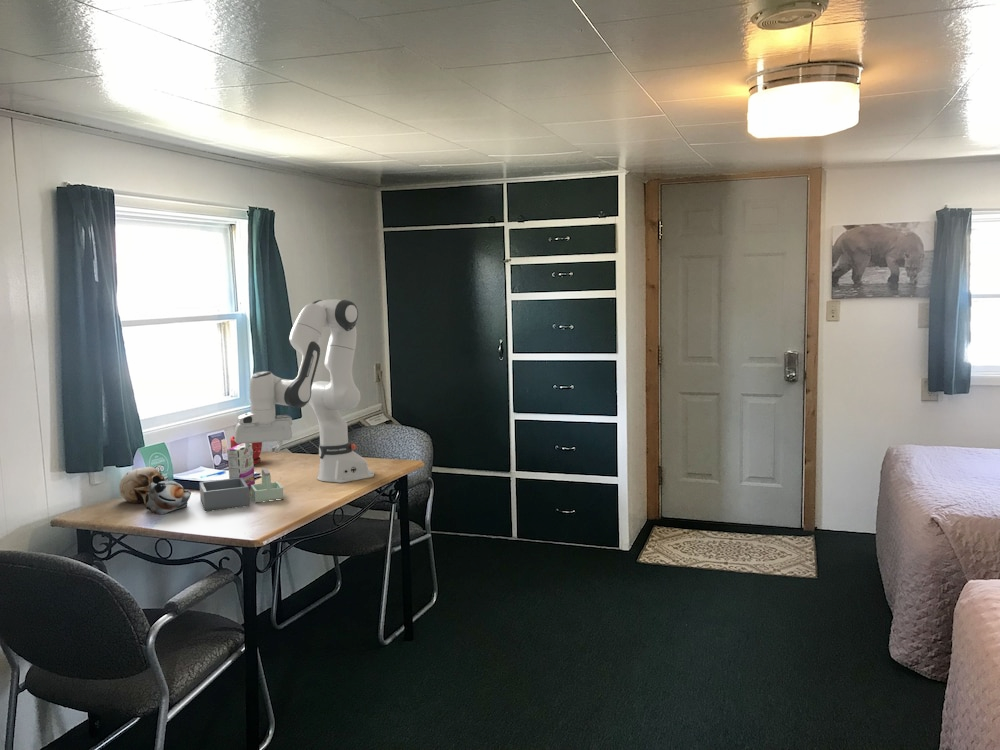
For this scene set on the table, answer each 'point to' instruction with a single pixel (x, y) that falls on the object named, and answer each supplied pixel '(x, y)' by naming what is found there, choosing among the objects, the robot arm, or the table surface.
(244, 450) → the candy bar box
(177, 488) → the lucky cat figurine
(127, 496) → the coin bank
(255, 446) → the plant pot
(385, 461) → the table surface
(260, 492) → the small crate
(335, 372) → the robot arm
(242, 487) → the large crate
